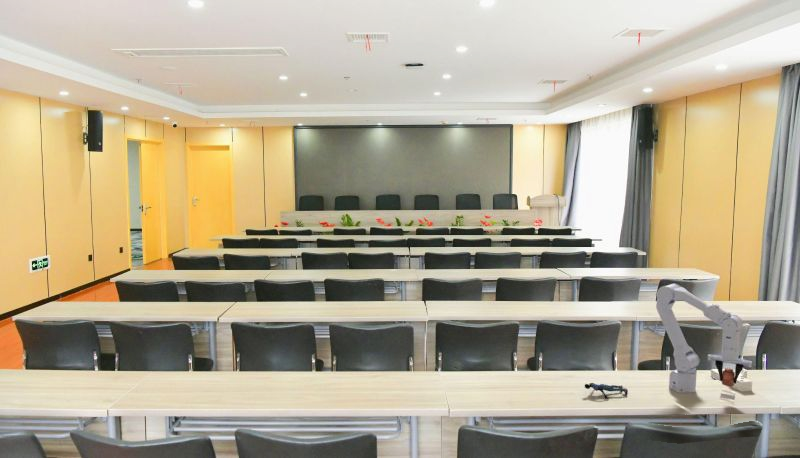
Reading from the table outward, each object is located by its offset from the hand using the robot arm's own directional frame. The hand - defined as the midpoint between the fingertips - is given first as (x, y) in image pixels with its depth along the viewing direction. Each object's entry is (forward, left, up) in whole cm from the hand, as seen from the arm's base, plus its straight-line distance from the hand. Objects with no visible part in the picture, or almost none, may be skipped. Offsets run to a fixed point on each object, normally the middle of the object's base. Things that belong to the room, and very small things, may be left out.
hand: (728, 381), depth 215 cm
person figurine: (-41, +17, -9) cm, 46 cm away
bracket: (+18, +20, -9) cm, 28 cm away
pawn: (0, 0, -1) cm, 1 cm away
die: (+16, +9, -9) cm, 20 cm away
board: (+4, +3, -9) cm, 10 cm away
